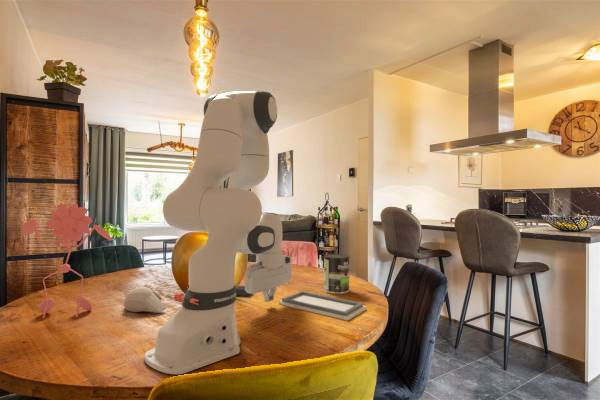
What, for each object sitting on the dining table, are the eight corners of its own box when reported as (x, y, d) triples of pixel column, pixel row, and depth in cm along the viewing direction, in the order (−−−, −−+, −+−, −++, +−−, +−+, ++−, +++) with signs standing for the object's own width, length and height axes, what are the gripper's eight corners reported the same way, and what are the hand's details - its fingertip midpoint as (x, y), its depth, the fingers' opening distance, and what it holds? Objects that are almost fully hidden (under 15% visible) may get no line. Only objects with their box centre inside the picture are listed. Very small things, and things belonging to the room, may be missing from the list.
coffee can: (354, 291, 134) (354, 255, 134) (337, 295, 127) (337, 258, 127) (335, 286, 142) (335, 252, 142) (318, 290, 135) (318, 255, 135)
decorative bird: (139, 304, 116) (141, 282, 116) (169, 313, 107) (171, 289, 108) (114, 309, 108) (116, 285, 109) (144, 319, 100) (146, 293, 100)
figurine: (105, 318, 102) (106, 203, 102) (9, 323, 97) (9, 203, 97) (122, 303, 117) (123, 203, 117) (39, 307, 112) (40, 203, 112)
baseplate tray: (347, 320, 101) (347, 314, 101) (278, 304, 116) (278, 298, 116) (366, 309, 111) (366, 303, 111) (300, 295, 127) (300, 290, 127)
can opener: (206, 290, 133) (200, 293, 128) (208, 274, 133) (202, 277, 128) (252, 297, 129) (248, 300, 124) (254, 280, 129) (249, 284, 124)
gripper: (254, 266, 103) (254, 310, 103) (294, 257, 119) (294, 295, 119) (240, 263, 106) (240, 307, 106) (280, 255, 123) (280, 292, 123)
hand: (269, 300), depth 113 cm, fingers closed
